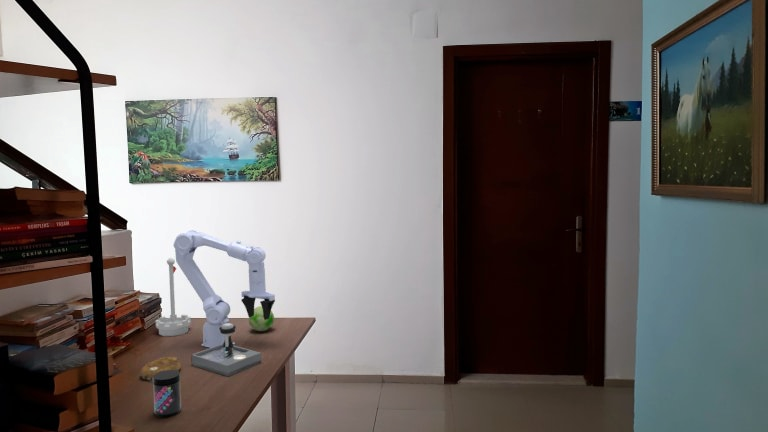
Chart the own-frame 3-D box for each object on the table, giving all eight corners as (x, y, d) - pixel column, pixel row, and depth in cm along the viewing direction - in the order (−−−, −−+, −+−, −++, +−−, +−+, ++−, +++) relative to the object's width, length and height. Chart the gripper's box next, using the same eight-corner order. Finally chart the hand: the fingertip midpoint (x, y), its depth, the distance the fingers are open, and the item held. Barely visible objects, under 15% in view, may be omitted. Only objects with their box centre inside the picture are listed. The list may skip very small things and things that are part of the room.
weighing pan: (195, 359, 175) (195, 357, 175) (224, 349, 185) (224, 346, 185) (219, 366, 169) (219, 364, 169) (248, 355, 179) (248, 353, 178)
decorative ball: (250, 327, 216) (250, 303, 215) (275, 326, 217) (275, 303, 216) (247, 335, 206) (246, 310, 206) (273, 334, 208) (272, 309, 207)
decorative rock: (148, 367, 175) (138, 387, 161) (146, 355, 174) (136, 374, 160) (184, 362, 178) (177, 381, 163) (183, 350, 177) (176, 368, 163)
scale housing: (191, 365, 175) (190, 353, 175) (225, 352, 187) (224, 342, 186) (227, 376, 165) (227, 364, 165) (260, 362, 177) (260, 351, 176)
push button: (233, 357, 175) (232, 327, 174) (217, 357, 174) (216, 328, 174) (238, 350, 181) (237, 322, 181) (222, 350, 181) (221, 322, 180)
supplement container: (150, 411, 141) (148, 374, 140) (176, 404, 146) (174, 367, 145) (159, 420, 136) (157, 381, 135) (185, 412, 141) (183, 375, 140)
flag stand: (183, 337, 205) (180, 260, 202) (150, 337, 205) (146, 260, 202) (196, 326, 218) (193, 255, 215) (164, 327, 218) (161, 255, 215)
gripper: (234, 281, 192) (236, 318, 194) (264, 285, 185) (266, 323, 186) (248, 278, 199) (250, 313, 200) (278, 281, 191) (279, 317, 193)
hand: (258, 317), depth 194 cm, fingers open, 7 cm apart
